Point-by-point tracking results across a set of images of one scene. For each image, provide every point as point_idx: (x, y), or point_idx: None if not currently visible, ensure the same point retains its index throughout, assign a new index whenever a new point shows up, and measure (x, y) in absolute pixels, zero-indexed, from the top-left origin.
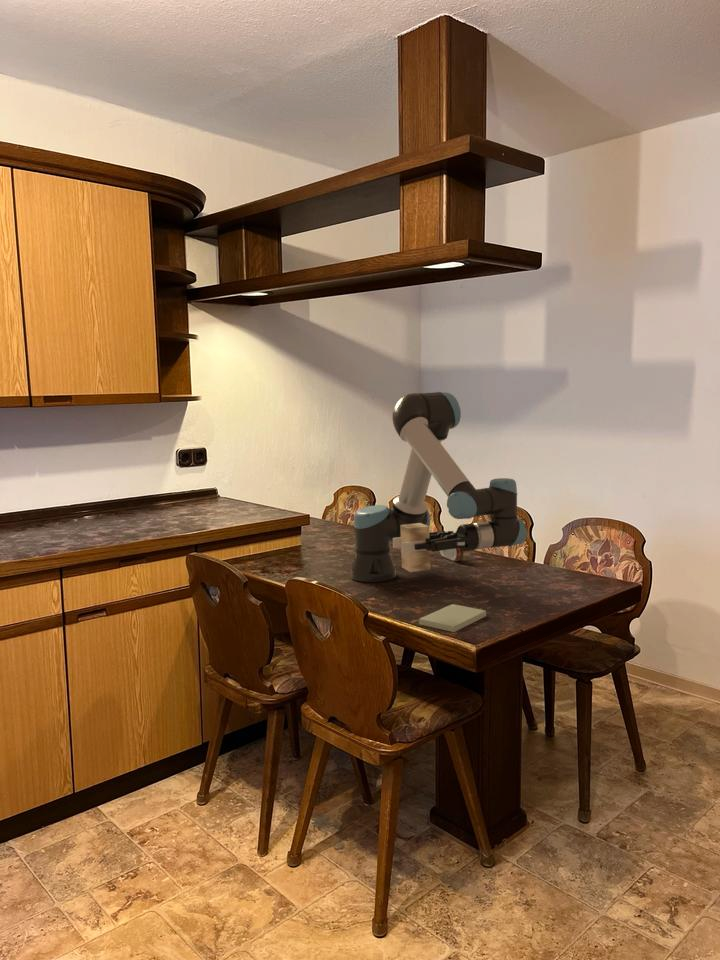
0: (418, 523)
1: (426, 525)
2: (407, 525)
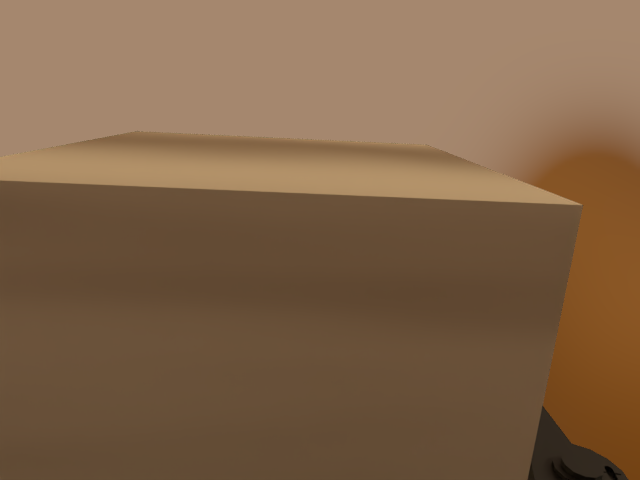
0: (480, 185)
1: (80, 182)
2: (344, 146)
